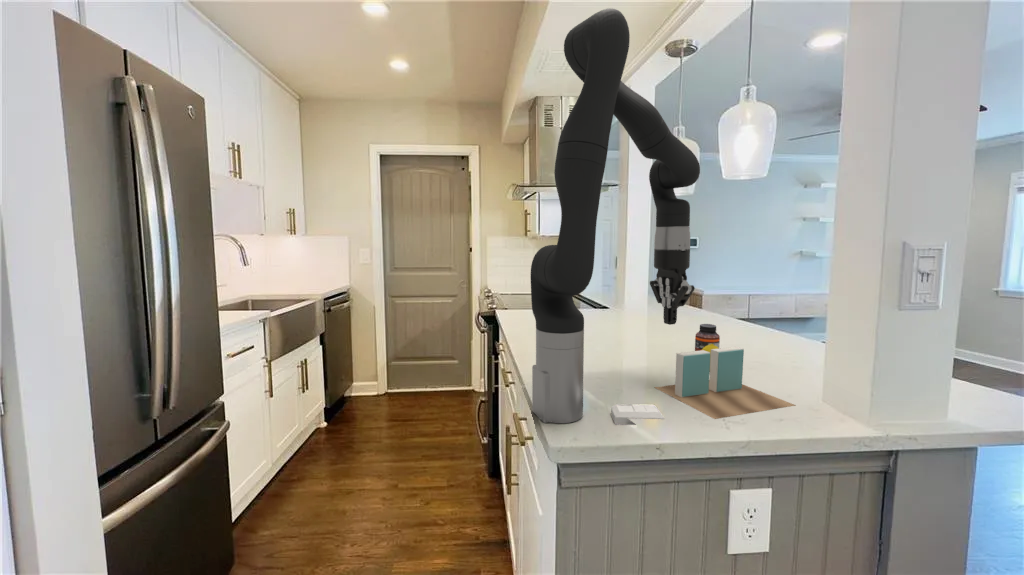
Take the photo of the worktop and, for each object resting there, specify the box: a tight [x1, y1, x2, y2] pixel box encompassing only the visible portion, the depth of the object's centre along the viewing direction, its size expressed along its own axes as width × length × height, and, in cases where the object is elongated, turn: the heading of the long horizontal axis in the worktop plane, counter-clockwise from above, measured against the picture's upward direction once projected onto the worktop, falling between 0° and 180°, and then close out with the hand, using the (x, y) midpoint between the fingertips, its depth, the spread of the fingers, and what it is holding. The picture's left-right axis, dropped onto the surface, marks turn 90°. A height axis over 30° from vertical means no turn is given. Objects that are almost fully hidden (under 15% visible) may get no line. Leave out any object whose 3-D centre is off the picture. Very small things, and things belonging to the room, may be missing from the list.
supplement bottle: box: [694, 323, 721, 351], centre depth 117 cm, size 6×6×11 cm
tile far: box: [709, 346, 745, 392], centre depth 96 cm, size 7×2×9 cm, turn 108°
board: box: [654, 383, 796, 420], centre depth 93 cm, size 20×18×1 cm
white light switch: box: [610, 403, 665, 426], centre depth 84 cm, size 5×9×3 cm, turn 87°
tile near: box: [674, 350, 710, 397], centre depth 93 cm, size 7×2×9 cm, turn 108°
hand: (669, 323), depth 100 cm, fingers closed
